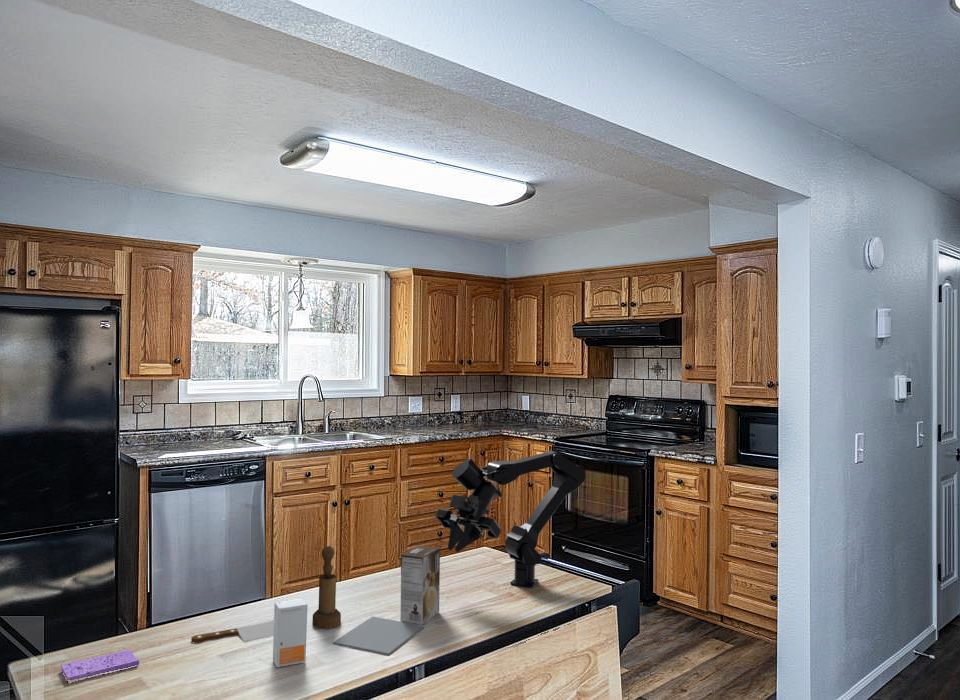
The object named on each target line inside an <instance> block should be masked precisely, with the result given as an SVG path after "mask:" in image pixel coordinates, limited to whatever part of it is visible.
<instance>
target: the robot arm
mask: <svg viewBox="0 0 960 700" xmlns="http://www.w3.org/2000/svg"><path fill="white" fill-rule="evenodd" d="M548 468H550V470H551V471H553V472H554V476H553V483H552V486H551V487H550V488H549V489H548V491H547V492H546V494H545V495H544V497H543V498H542V500H541V501H540V502H539V504H538V505H537V506H536V508H535V509H534V510H533V511H532V513H531V514H530V516H529V517H528V519H526V521H525V522H524V524H522V525H520V526H519V525H517V524H514V526H513V527H512V528H511V530H510V531H509V532H508V533H507V534H506V536H505V537H506V538H505V540H504V548H505V551H506V552H507V553H508V555H509V558H510V559H512V560H513V561H514V579H512V580H511V581H510V583H509V584H510V585H513V586H518V587H519V586H520V587H527V588H533V587H534V586H535V585H536V584H538V582H539V578H536V575H535V574H536V573H535V572H536V565H540V564H541V561H542V555H541V554H540V553H539V552H538V551H537V550H536V548H537V546H538V541H539V535H540V533H541V532H542V530H543V529H544V528H545V526H546V524H548V522H549V521H550V519H551V517H552V516H553V515H554V513H555V512H556V511H557V510H558V509H559V506H560V505H561V504H562V502H563V501H564V500H565V498H566V497H567V496H568V495H569V494H571V493H572V492H575V491H576V490H577V489H579V487H580V486H581V485H582V484H583V483H584V482H585V480H586V477H587V476H586V471H585V470H586V469H584V467H583V466H582V465H578V464H576V463H574V462H572V461H571V460H569V459H567V458H566V457H564V455H562V454H561V453H559V452H558V451H554V450H547V451H545V452H542V453H538V454H534V455H531V456H527V457H523V458H520V459H516V460H496V461H495V460H494V461H490V462H489V463H487V465H486V466H484V467H479V466H478V464H476V462H475V461H474V460H473V459H472V458H466V460H465V461H463V462H460V463H458V465H456V466H455V467H454V469H453V471H452V473H451V476H452V478H453V479H454V480H455V481H457V483H458V484H460V486H462V487H463V488H464V489H465V490H466V491H471V493H470V494H469V496H463V495H459V494H452V495H451V499H450V502H449V505H448V507H449V508H454V509H455V512H456V514H457V515H456V514H454V512H453V511H452V510H451V509H447V508H439V509H437V511H436V513H435V514H434V517H435V518H436V519H437V521H438V522H439V523H440V524H441V526H442V528H445V529H448V530H449V538H448V544H447V545H448V546H447V549H448V551H452V550H454V551H455V552H456V553H459V552H460V551H462V550H463V549H465V548H466V547H468V546H469V545H471V544H472V543H473V542H475V541H478V540H479V539H483V533H484V532H485V531H487V533H486V534H487V536H488V538H491V539H496V540H497V539H499V537H500V535H501V530H502V529H501V527H500V526H499V524H498V522H496V520H495V518H494V517H489V516H487V515H489V513H490V511H489V509H488V508H489V506H490V505H491V502H492V501H493V499H494V498H501V497H502V496H503V495H502V491H501V487H499V486H495V485H494V484H498V485H501V486H505V485H508V484H510V483H512V482H514V481H516V480H517V479H518V478H519V477H520V476H522V475H526V474H530V473H533V472H537V471H541V470H545V469H548ZM485 515H486V516H485ZM463 526H464V529H463ZM454 548H455V549H454Z"/></svg>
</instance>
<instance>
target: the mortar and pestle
mask: <svg viewBox="0 0 960 700" xmlns="http://www.w3.org/2000/svg"><path fill="white" fill-rule="evenodd" d="M334 556H335V549H334V548H333V547H332V546H329V545H328V546H325V547H323V548H322V550H321V557H322V559H323V560H324V565H323V566H322V569H323V574H321V575H319V576H318V607H317V608H318V609H317V610H316V611H315V612H314V613H313V614H312V620H311V622H312V623H311V624H312V626H313V627H315V628H318V629H322V630H323V629H325V630H326V629H333V628H337V627H338V626H340V625H341V623H342V619H341V618H342V615H341V612H340V611H339V610H338V609H337V608H336V601H337V600H336V597H337V596H336V594H337V590H336V589H337V574H334V573H333V567H334V565H333V564H332V560H333V558H334Z"/></svg>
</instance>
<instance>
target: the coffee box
mask: <svg viewBox="0 0 960 700" xmlns="http://www.w3.org/2000/svg"><path fill="white" fill-rule="evenodd" d="M440 554H441V548H440V547H434V546H433V547H432V546H426V545H425V546H424V545H423V546H422V545H417V546H414V547H413V548H411V549H409V550H407V551H406V552H404V553H402V554H400V616H399V617H400V620H399V621H401V622H403V621H404V622H406V623H409V622H410V623H412V624H415V623H416V624H417V625H420V624H421V625H423V624H424V625H425V624H426V623H428V622H429V621H430V620H431V619H433V618H434V617H435V616H437V615H438V614H439V613H440V590H441V589H440V582H441V581H440V579H441V578H440V573H441V565H440V563H441V560H440V559H441V557H440V556H441V555H440ZM424 625H423V626H424Z"/></svg>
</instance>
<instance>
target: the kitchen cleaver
mask: <svg viewBox="0 0 960 700" xmlns="http://www.w3.org/2000/svg"><path fill="white" fill-rule="evenodd" d="M235 636H238V637H239V638H240V639H241V640H242V642H243V643H248V642H252V641H257V640H261V639H265V638H266V639H267V638H270V637H273V636H274V619H273V620H270V621H266V622H262V623H261V622H260V623H256V624H251V625H247V626H246V625H245V626H241V627H234V628H230V629H225V630H219V631H214V632H213V631H212V632H208V633H203V634H197V635H196V634H195V635H193V636H192V637H191V639H190V640H191V643H193V642H194V644H199V642H200V643H204V642H206V641H211V640H212V641H213V640H217V639H223V638H226V637H235ZM269 636H270V637H269Z"/></svg>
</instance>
